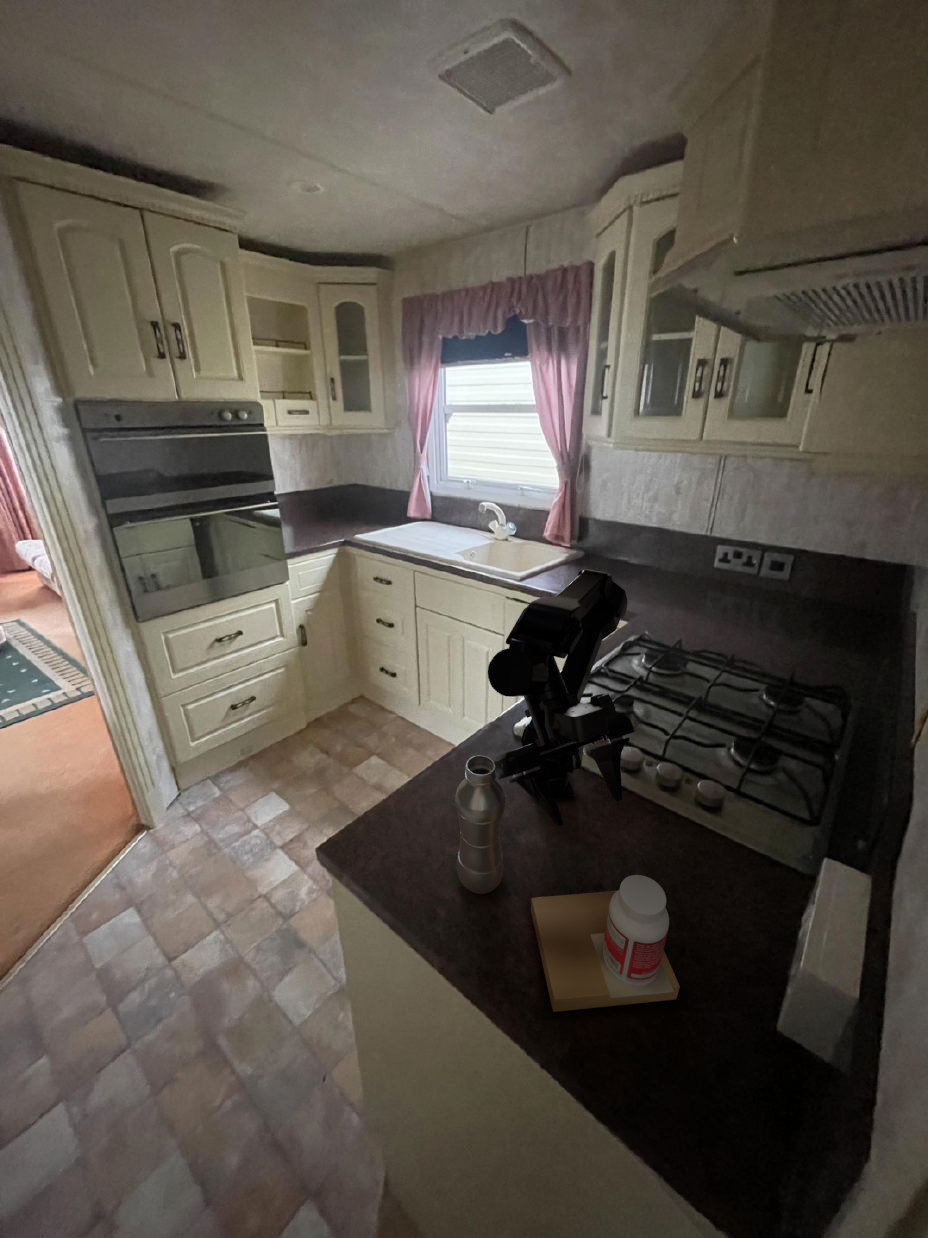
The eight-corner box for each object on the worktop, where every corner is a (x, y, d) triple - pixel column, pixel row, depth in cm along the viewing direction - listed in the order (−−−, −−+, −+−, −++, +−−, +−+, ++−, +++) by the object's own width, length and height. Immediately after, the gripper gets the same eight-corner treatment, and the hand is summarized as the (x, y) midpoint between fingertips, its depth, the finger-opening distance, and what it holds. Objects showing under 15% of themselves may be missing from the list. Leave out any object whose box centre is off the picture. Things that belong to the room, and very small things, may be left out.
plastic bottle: (468, 908, 67) (467, 791, 59) (449, 868, 73) (445, 755, 64) (512, 890, 69) (517, 775, 61) (490, 852, 75) (491, 742, 67)
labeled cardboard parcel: (530, 910, 67) (531, 896, 66) (634, 901, 68) (637, 887, 67) (554, 1017, 56) (555, 1003, 54) (678, 1004, 57) (682, 990, 56)
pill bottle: (664, 951, 59) (680, 885, 55) (650, 1000, 55) (666, 933, 50) (611, 923, 62) (622, 859, 58) (594, 968, 58) (604, 901, 53)
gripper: (508, 697, 58) (558, 839, 53) (635, 660, 65) (689, 782, 61) (476, 717, 68) (516, 839, 63) (589, 683, 75) (633, 790, 71)
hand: (590, 812), depth 64 cm, fingers open, 9 cm apart
